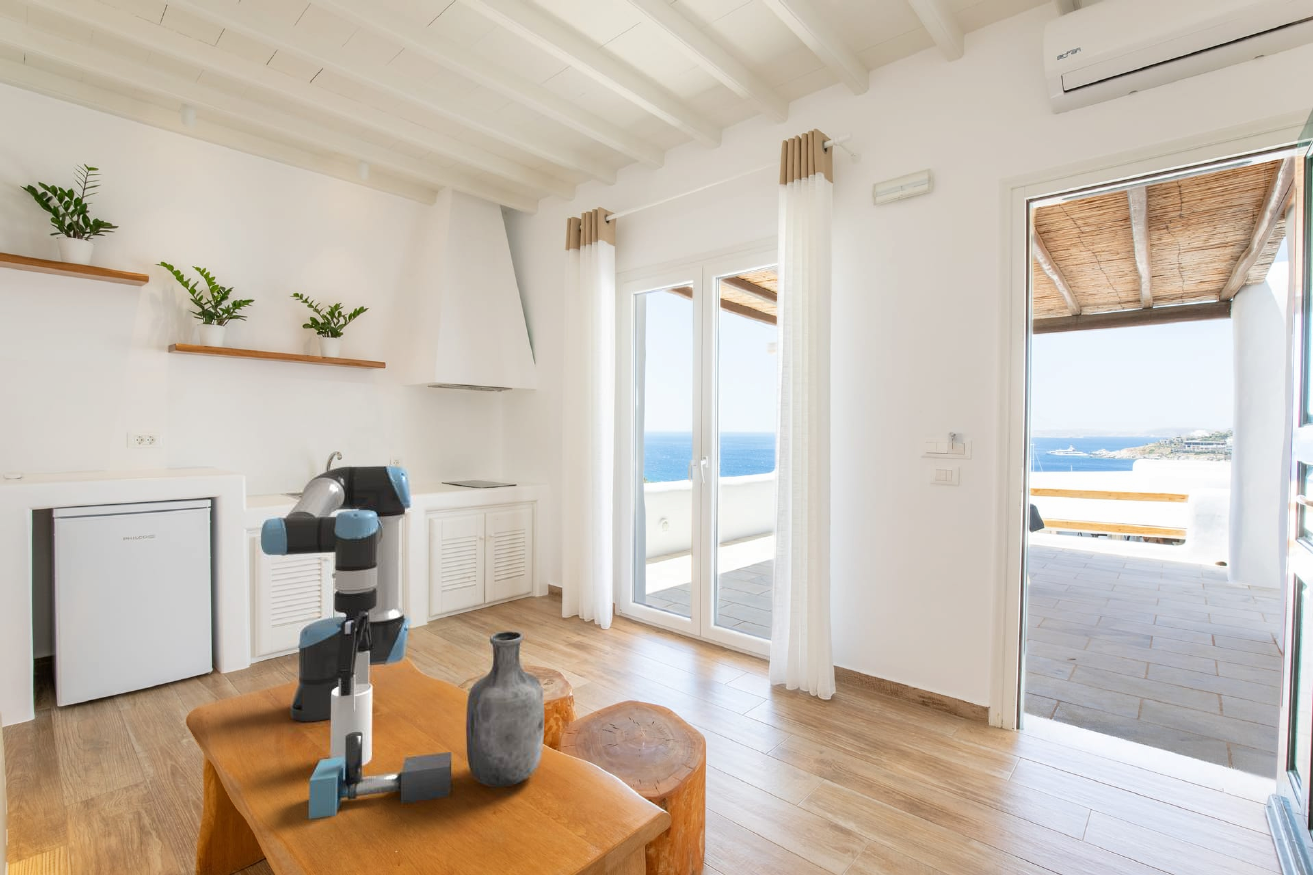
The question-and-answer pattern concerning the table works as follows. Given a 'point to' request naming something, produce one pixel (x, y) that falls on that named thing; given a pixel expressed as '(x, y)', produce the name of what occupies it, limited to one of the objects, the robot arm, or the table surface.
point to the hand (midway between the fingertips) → (354, 696)
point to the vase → (505, 718)
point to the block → (426, 777)
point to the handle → (353, 773)
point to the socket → (325, 787)
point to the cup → (352, 722)
